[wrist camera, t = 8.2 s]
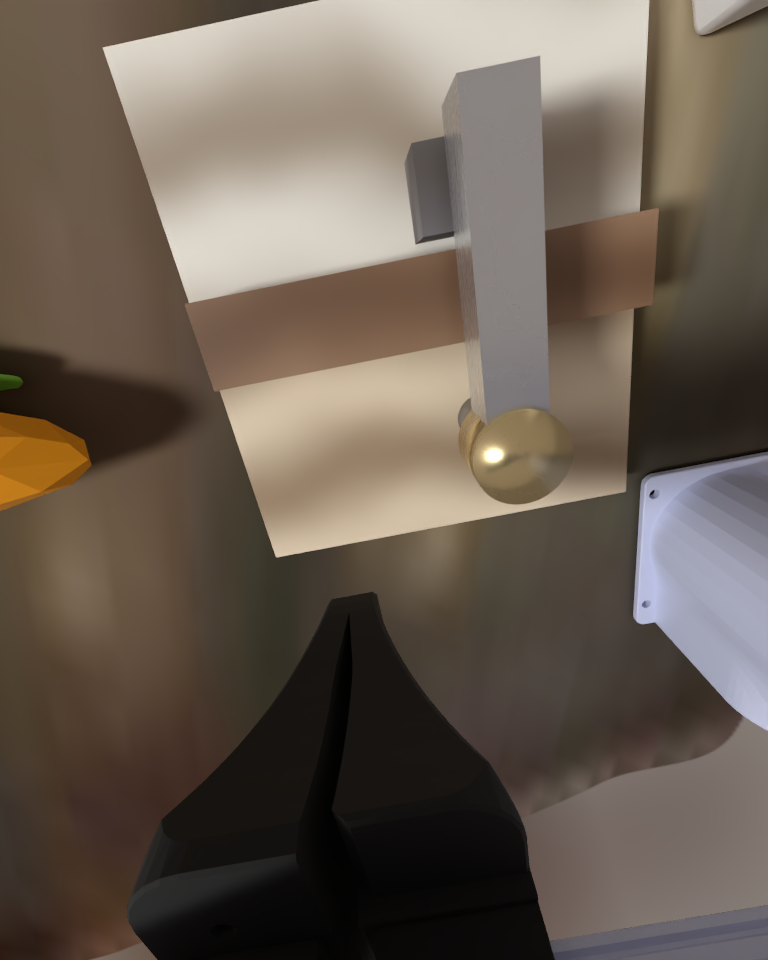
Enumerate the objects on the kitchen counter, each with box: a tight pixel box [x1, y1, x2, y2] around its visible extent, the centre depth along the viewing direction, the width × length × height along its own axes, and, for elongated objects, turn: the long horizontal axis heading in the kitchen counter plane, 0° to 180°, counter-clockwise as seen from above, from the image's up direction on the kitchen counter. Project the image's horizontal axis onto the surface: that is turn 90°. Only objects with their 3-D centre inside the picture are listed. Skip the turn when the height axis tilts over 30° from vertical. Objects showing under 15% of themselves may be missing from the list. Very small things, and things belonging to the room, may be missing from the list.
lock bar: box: [441, 56, 573, 505], centre depth 13 cm, size 12×3×2 cm, turn 10°
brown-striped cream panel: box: [103, 0, 659, 557], centre depth 16 cm, size 19×17×4 cm
